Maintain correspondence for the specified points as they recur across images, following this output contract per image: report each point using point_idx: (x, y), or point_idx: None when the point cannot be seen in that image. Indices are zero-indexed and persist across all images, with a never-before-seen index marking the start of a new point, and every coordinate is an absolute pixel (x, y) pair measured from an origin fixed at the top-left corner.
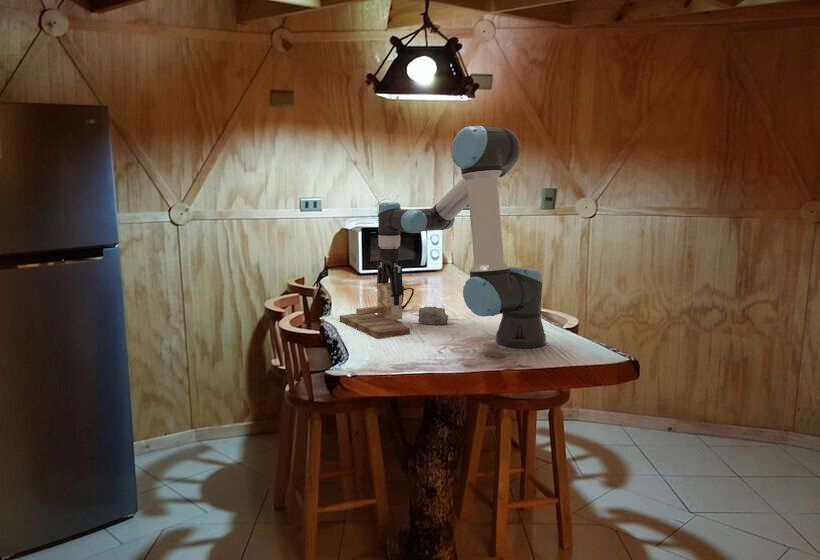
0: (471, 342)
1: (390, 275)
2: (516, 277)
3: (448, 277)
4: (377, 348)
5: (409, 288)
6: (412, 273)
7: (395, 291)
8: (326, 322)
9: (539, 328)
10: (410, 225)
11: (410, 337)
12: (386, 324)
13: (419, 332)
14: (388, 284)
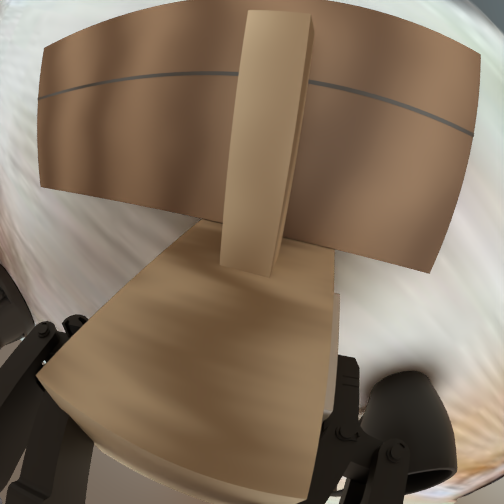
0: (6, 242)
1: (14, 493)
2: None
3: (432, 501)
4: (24, 30)
5: (336, 492)
6: (487, 483)
7: (36, 346)
8: (471, 4)
9: None
10: None
11: (36, 155)
12: (96, 131)
13: (63, 217)
14: (169, 478)
